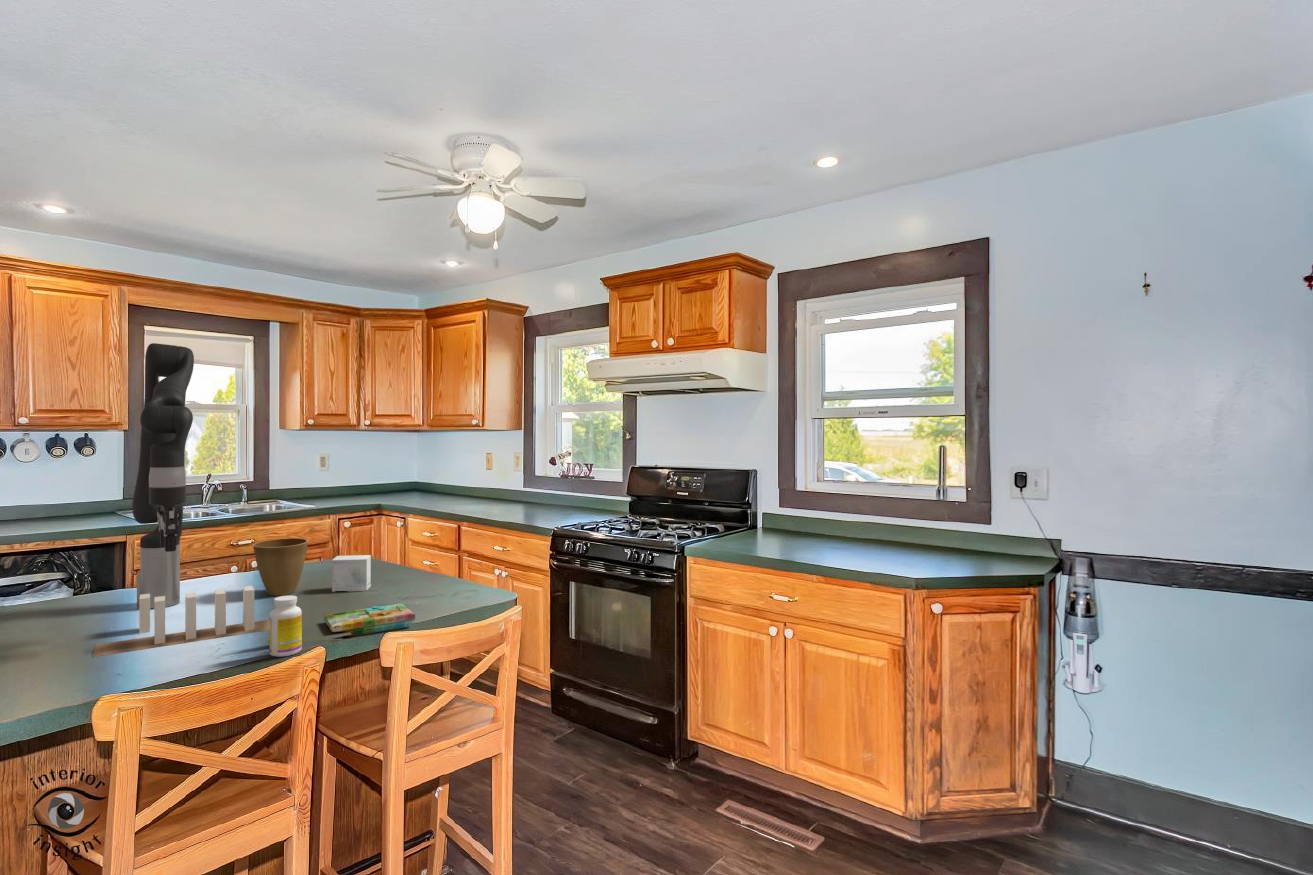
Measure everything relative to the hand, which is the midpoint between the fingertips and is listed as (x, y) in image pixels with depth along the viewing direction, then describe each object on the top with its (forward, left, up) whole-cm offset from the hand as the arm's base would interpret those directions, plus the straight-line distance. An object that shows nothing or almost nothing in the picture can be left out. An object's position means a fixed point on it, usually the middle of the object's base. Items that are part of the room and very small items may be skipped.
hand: (167, 548), depth 168 cm
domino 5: (+20, +1, -20) cm, 28 cm away
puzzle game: (+48, +9, -22) cm, 53 cm away
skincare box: (+23, +47, -22) cm, 56 cm away
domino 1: (-3, -3, -21) cm, 22 cm away
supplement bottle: (+38, -11, -21) cm, 45 cm away
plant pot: (+4, +40, -21) cm, 45 cm away
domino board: (+11, -7, -21) cm, 25 cm away
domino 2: (+7, -11, -20) cm, 23 cm away
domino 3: (+11, -7, -20) cm, 24 cm away
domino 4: (+16, -3, -20) cm, 26 cm away
